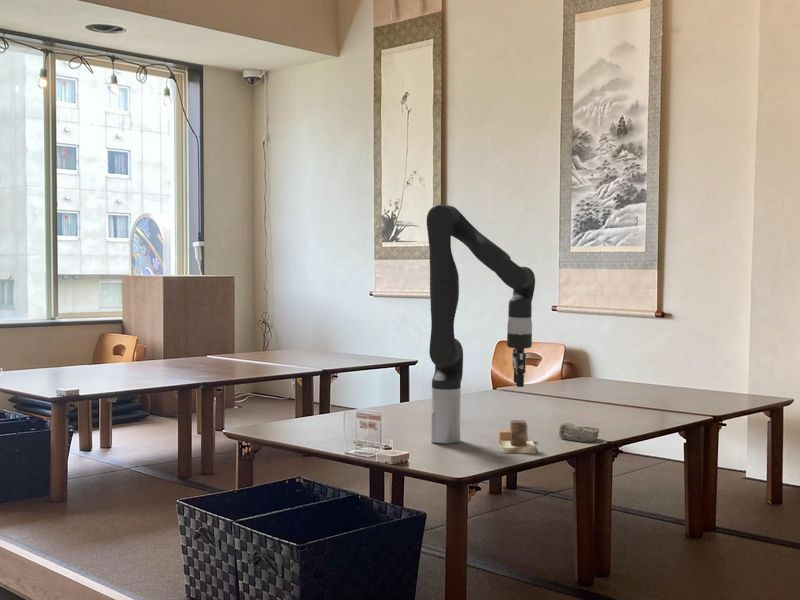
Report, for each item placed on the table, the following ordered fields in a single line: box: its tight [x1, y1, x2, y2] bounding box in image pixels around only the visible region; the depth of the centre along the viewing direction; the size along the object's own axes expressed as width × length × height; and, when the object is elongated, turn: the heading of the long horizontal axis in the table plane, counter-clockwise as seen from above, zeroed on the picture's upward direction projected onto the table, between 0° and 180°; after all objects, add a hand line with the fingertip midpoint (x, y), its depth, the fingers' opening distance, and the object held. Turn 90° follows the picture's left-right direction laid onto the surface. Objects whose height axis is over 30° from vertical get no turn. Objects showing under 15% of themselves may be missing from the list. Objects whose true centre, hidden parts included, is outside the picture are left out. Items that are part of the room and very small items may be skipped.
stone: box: [558, 422, 600, 443], centre depth 298 cm, size 13×6×10 cm
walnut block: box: [509, 419, 528, 446], centre depth 281 cm, size 4×4×7 cm
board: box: [499, 440, 537, 454], centre depth 282 cm, size 10×11×2 cm
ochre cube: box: [498, 429, 510, 444], centre depth 291 cm, size 4×4×4 cm
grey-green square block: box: [526, 424, 529, 441], centre depth 295 cm, size 5×5×5 cm
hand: (518, 384), depth 281 cm, fingers open, 8 cm apart
